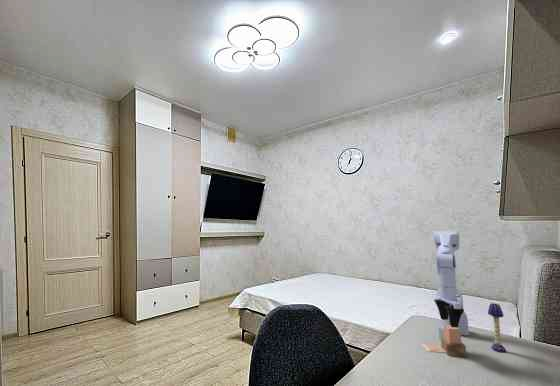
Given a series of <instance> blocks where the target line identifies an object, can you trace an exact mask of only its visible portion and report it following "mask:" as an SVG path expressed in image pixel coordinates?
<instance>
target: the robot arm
mask: <svg viewBox="0 0 560 386" xmlns="http://www.w3.org/2000/svg"><path fill="white" fill-rule="evenodd" d="M433 241H434V244H435V245H434V246H435V248H436V250H437V254H436V255H435V265H436V271H437V277H438V278H437V279H438V289H437V292H436V296H435V299H434V300H433V301H434V303H435V305H436V307H437V310H438V313H439V316H440V320H441V326H440V325H438V326H437V328H439V327H444V325H451V327H457V328H459V329H461V336H470V333H469V320H468V316H467V314H466V312H465V310H464V309H465V308H464V298H463V293H462V291H460V290H459V289H457V278H456V269H457V257H456V254H455V251H458V250H459V249H460V232H459V231H458V230H452V231H451V230H435V231H433Z"/></svg>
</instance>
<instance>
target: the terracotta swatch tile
mask: <svg viewBox="0 0 560 386" xmlns="http://www.w3.org/2000/svg"><path fill="white" fill-rule="evenodd" d="M422 346H423V347H424V348H425V349H426V350H427V351H428V352H433V353H445V354H446V352H445V351H444V350H443V349H442V347H441V346H440V345H439V344H432V343H422Z"/></svg>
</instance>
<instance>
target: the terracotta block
mask: <svg viewBox="0 0 560 386" xmlns="http://www.w3.org/2000/svg"><path fill="white" fill-rule="evenodd" d="M444 339H445V340H447V341H448V342H449V343H455V344H461V342H462V335H461V329H459V328H457V327H451V325H444Z"/></svg>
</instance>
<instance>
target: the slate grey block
mask: <svg viewBox="0 0 560 386" xmlns="http://www.w3.org/2000/svg"><path fill="white" fill-rule="evenodd" d="M441 337H443V338H444V327H438V338H439V341H440V342H441Z"/></svg>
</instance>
